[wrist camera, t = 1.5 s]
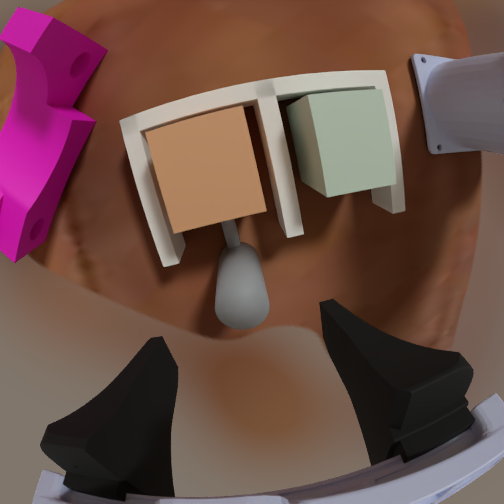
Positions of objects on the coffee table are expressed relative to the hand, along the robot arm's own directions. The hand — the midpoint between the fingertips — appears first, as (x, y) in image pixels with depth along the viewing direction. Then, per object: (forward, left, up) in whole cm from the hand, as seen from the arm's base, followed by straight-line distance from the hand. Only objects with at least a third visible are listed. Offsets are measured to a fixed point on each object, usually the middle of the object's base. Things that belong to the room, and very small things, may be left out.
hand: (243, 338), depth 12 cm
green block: (-7, -7, -9) cm, 13 cm away
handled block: (0, -4, -8) cm, 9 cm away
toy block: (+11, -13, -9) cm, 19 cm away
